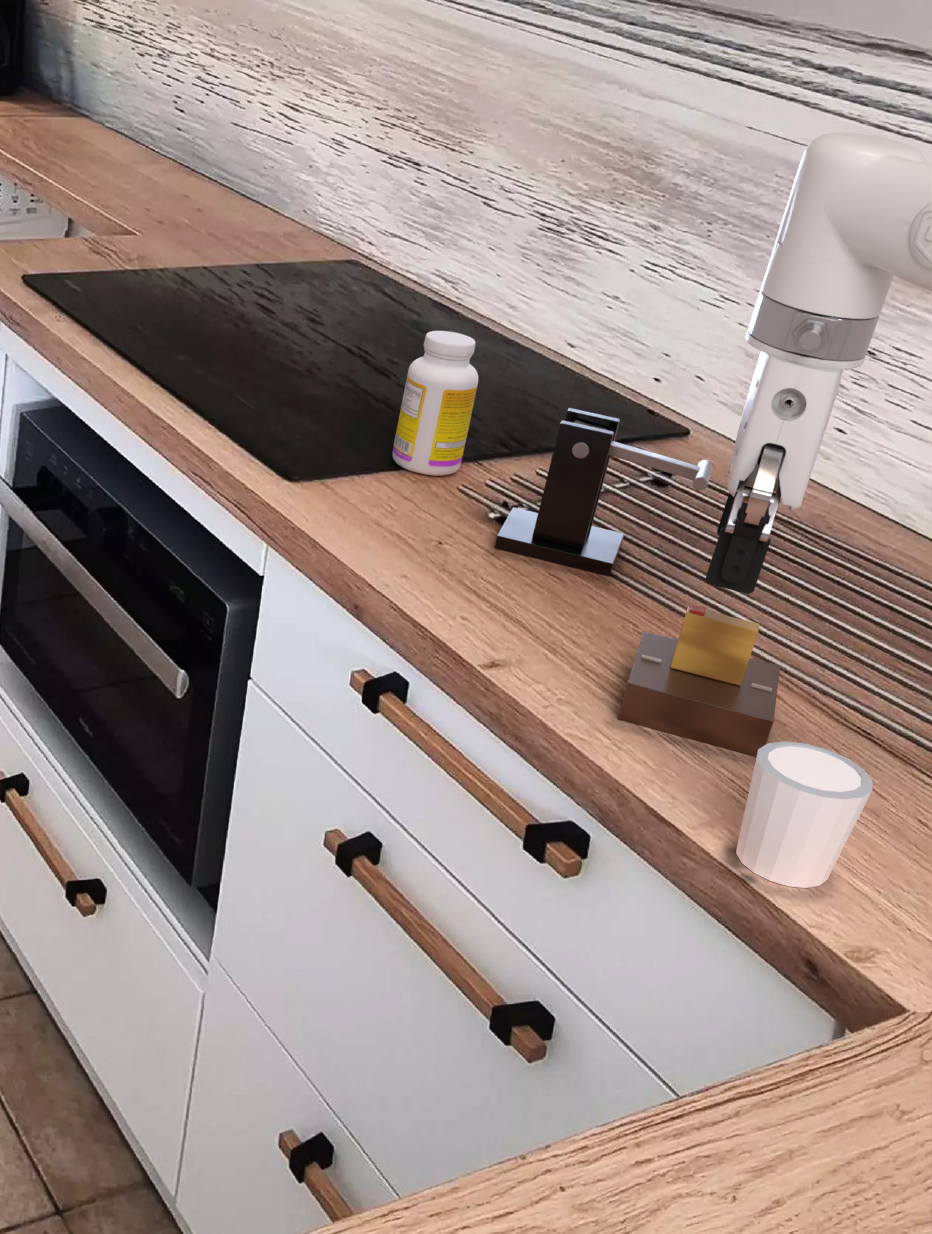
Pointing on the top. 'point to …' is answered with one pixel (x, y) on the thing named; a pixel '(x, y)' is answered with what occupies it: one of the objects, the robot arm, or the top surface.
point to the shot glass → (800, 812)
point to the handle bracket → (569, 501)
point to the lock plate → (700, 699)
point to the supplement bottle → (437, 406)
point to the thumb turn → (714, 645)
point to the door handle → (661, 462)
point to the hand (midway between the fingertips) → (733, 562)
